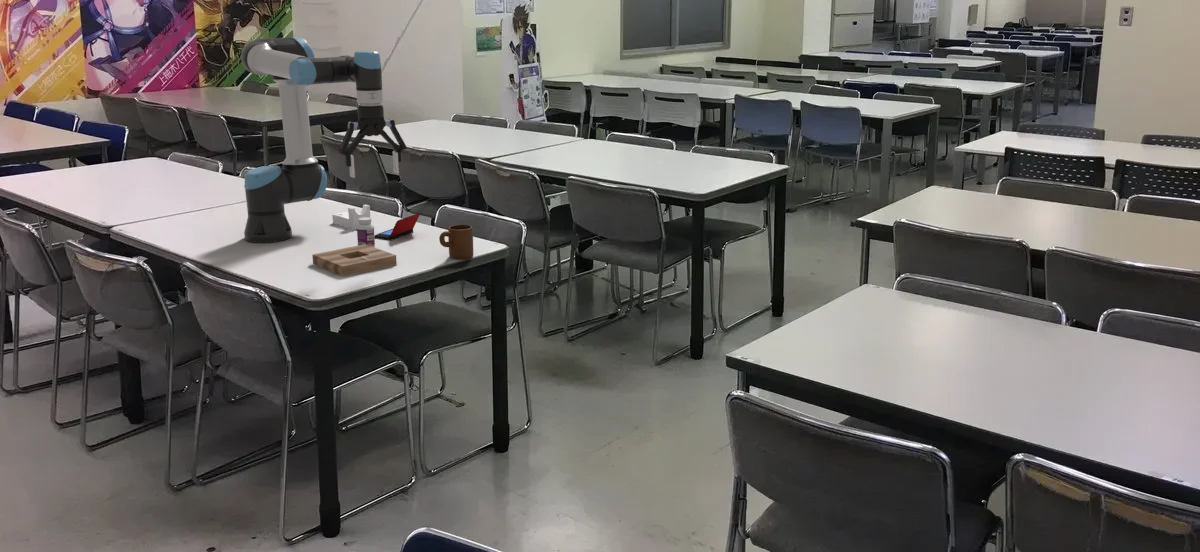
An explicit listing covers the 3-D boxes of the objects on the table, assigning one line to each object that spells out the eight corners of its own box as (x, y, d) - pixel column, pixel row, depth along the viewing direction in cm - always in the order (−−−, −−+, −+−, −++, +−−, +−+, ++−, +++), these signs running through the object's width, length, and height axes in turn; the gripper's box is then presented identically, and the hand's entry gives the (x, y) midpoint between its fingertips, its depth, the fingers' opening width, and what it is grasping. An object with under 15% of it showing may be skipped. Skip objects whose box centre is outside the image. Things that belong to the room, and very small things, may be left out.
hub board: (313, 264, 293) (312, 253, 292) (365, 253, 305) (364, 243, 304) (343, 276, 280) (342, 265, 279) (396, 264, 292) (396, 254, 291)
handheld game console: (396, 230, 335) (395, 209, 333) (421, 234, 330) (420, 212, 328) (372, 238, 324) (371, 217, 322) (398, 242, 319) (397, 220, 317)
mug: (448, 264, 293) (447, 233, 291) (432, 259, 298) (431, 229, 295) (478, 256, 302) (477, 227, 299) (462, 252, 307) (461, 223, 304)
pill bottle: (370, 250, 308) (368, 220, 306) (355, 249, 309) (353, 220, 307) (377, 246, 313) (376, 217, 311) (362, 245, 314) (360, 216, 312)
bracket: (371, 226, 340) (369, 205, 338) (353, 230, 335) (352, 208, 333) (350, 220, 349) (348, 200, 347) (333, 224, 344) (331, 203, 342)
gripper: (331, 108, 278) (337, 180, 284) (414, 103, 290) (418, 173, 296) (324, 105, 284) (330, 176, 290) (406, 101, 296) (409, 169, 302)
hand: (374, 175), depth 293 cm, fingers open, 13 cm apart
